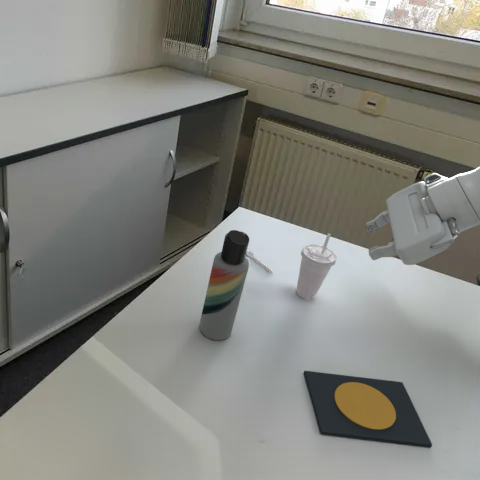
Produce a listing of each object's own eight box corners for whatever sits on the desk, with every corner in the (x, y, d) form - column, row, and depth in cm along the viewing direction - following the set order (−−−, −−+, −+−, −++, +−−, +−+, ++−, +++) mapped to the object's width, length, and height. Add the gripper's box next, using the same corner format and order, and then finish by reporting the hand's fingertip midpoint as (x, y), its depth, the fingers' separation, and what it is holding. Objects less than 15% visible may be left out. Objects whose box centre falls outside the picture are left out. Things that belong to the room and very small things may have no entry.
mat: (401, 384, 88) (403, 381, 88) (431, 447, 78) (433, 444, 78) (303, 372, 89) (304, 369, 88) (320, 434, 78) (322, 430, 78)
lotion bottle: (211, 315, 99) (233, 221, 88) (237, 331, 96) (263, 236, 85) (192, 328, 95) (212, 232, 85) (218, 346, 92) (242, 249, 81)
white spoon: (274, 274, 112) (276, 265, 110) (258, 279, 110) (260, 270, 108) (231, 239, 122) (233, 231, 120) (216, 243, 120) (218, 235, 118)
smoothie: (326, 305, 104) (349, 244, 97) (293, 302, 104) (313, 242, 97) (316, 284, 110) (337, 226, 102) (285, 282, 110) (304, 223, 102)
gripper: (471, 253, 82) (381, 286, 90) (448, 196, 99) (373, 228, 106) (452, 221, 81) (362, 258, 88) (431, 168, 97) (357, 203, 105)
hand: (368, 241), depth 98 cm, fingers open, 8 cm apart
